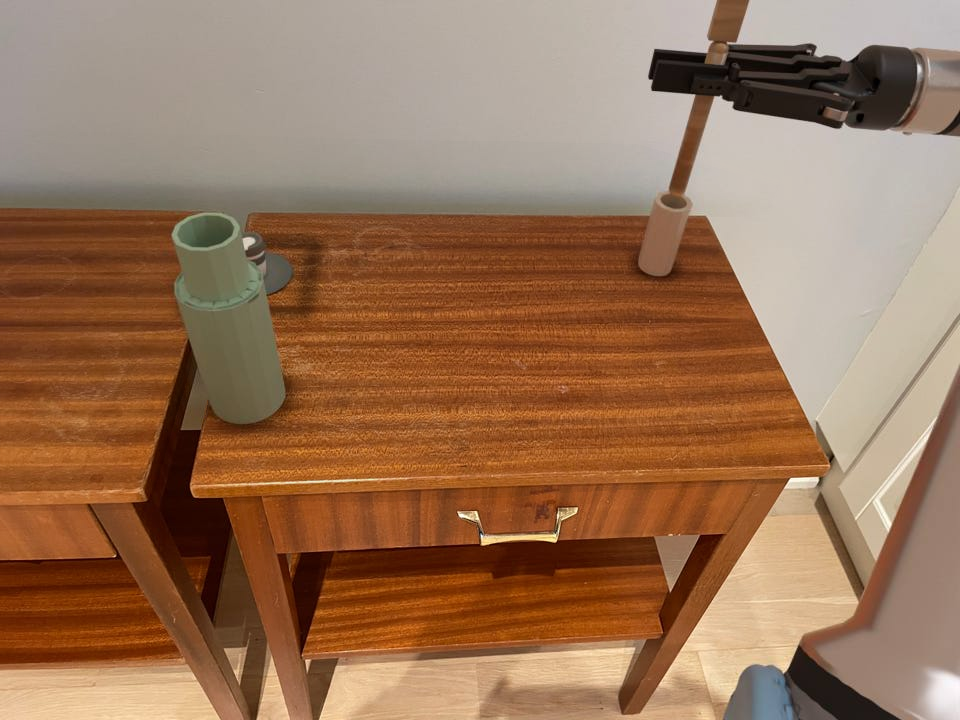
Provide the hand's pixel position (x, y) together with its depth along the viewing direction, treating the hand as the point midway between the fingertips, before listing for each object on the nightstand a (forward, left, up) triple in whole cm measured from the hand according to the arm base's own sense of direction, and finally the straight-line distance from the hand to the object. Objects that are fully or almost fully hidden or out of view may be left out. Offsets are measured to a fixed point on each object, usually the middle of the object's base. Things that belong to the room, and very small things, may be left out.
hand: (653, 69), depth 69 cm
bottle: (-38, +22, -23) cm, 49 cm away
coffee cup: (-24, +33, -23) cm, 47 cm away
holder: (+2, -5, -23) cm, 24 cm away
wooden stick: (+2, -5, -14) cm, 15 cm away
